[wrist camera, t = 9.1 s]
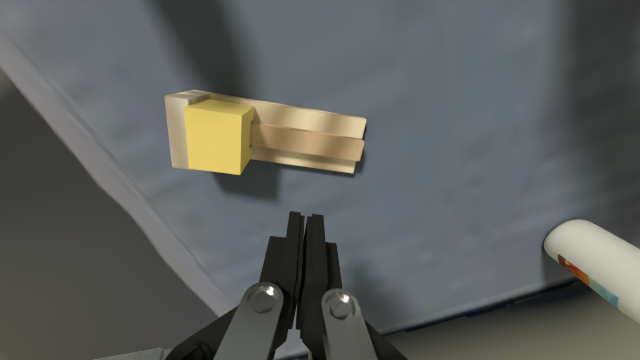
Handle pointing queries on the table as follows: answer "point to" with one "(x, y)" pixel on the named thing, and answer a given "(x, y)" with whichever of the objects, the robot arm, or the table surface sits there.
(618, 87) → the table surface
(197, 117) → the block
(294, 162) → the rail
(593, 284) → the milk bottle
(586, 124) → the table surface
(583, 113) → the table surface
